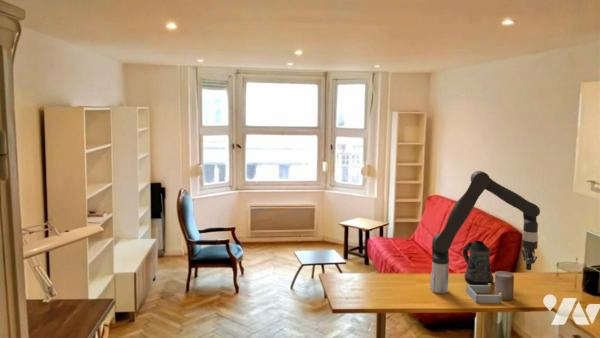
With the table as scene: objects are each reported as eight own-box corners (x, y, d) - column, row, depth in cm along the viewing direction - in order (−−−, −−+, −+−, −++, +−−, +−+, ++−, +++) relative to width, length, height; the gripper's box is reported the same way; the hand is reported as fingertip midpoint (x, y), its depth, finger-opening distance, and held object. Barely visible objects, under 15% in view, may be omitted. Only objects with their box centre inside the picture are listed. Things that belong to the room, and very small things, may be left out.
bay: (475, 302, 240) (476, 293, 240) (465, 291, 256) (466, 283, 255) (501, 302, 240) (501, 293, 239) (489, 292, 255) (490, 283, 255)
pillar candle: (514, 296, 249) (515, 270, 248) (511, 302, 241) (512, 275, 239) (495, 293, 254) (496, 267, 253) (492, 298, 246) (493, 272, 245)
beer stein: (490, 288, 260) (492, 247, 258) (456, 282, 271) (457, 242, 268) (495, 280, 274) (497, 241, 271) (463, 274, 285) (464, 236, 282)
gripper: (517, 236, 250) (516, 265, 252) (528, 242, 237) (527, 273, 239) (531, 236, 250) (529, 265, 252) (543, 242, 237) (541, 273, 239)
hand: (528, 269), depth 245 cm, fingers closed
